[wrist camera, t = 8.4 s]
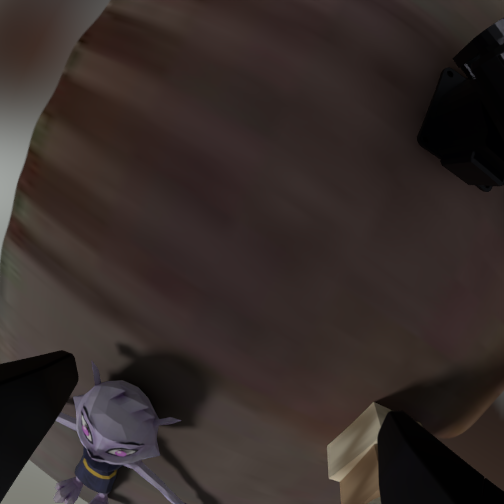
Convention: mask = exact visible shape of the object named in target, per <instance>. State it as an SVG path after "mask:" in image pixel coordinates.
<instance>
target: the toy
mask: <svg viewBox="0 0 504 504" xmlns="http://www.w3.org/2000/svg"><path fill="white" fill-rule="evenodd" d="M91 362H92V360H91ZM92 368H93V373H94V380H95V386H94V387H93V388H92V389H91V390H90V391H89V392H88V393H87V394H84V395H79V396H74V397H73V399H74V403H75V408H76V418H73V417H71V416H69V415H66V414H64V413H60V414H59V416H58V418H57V419H56V421H58V422H60V423H61V424H63V425H65V426H67V427H69V428H71V429H73V430H75V431H77V433H78V435H79V438H80V441H81V443H82V444H83V446H84V449H83V456H82V458H81V460H80V462H79V464H78V465H77V466H76V469H75V474H76V477H74V478H71V479H67V480H64V481H61V482H58V483H57V484H56V486H55V489H57V490H58V491H57V492H56V493H55V496H54V501H55V502H57V503H62V502H63V501H65V504H74V502H75V501H76V500H77V498H78V496H79V494H80V491H81V489H82V487H83V484H84V485H86V486H87V487H88V488H90V489H92V490H94V491H96V492H98V494H97V495H96V496H95V498H94V499H93V500H92V501H91V502H90V503H89V504H108V497H107V494H108V493H109V492H110V491H111V490H112V485H113V483H114V481H115V479H116V477H117V471H118V469H119V468H120V467H122V466H126V467H128V468H132V469H134V470H135V471H136V472H137V473H138V474H140V475H141V476H142V477H143V478H144V479H146V480H147V481H148V482H149V483H151V484H152V485H153V486H154V487H156V488H157V489H158V490H159V491H161V493H162V494H163V495H164V496H165V497H166V498H167V499H168V500H169V501H170V502H171V503H172V504H186V503H183V502H182V501H181V500H180V499H179V498H178V496H177V495H176V494H175V493H173V492H172V491H171V490H170V489H169V488H168V487H167V486H166V485H165V483H164V482H163V481H162V480H161V479H160V478H159V477H158V476H157V475H156V474H155V473H153V472H152V471H151V470H150V469H149V468H148V467H147V466H146V465H145V464H144V463H143V462H142V461H141V459H146V458H151V457H156V456H160V452H159V447H158V443H157V432H158V426H159V425H168V424H172V423H176V422H179V421H182V420H179V419H175V418H172V417H168V418H164V419H159V418H158V416H157V414H156V412H155V410H154V408H153V406H152V404H151V402H150V400H149V398H148V397H147V396H146V395H145V394H144V393H143V392H142V391H141V389H140V388H139V387H137V386H134V385H132V384H130V383H128V382H125V381H123V380H118V381H106V382H103V383H101V381H100V375H99V370H98V368H97V367H96V365H95V364H94V363H93V362H92ZM66 498H67V499H66ZM65 499H66V500H65Z"/></svg>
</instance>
